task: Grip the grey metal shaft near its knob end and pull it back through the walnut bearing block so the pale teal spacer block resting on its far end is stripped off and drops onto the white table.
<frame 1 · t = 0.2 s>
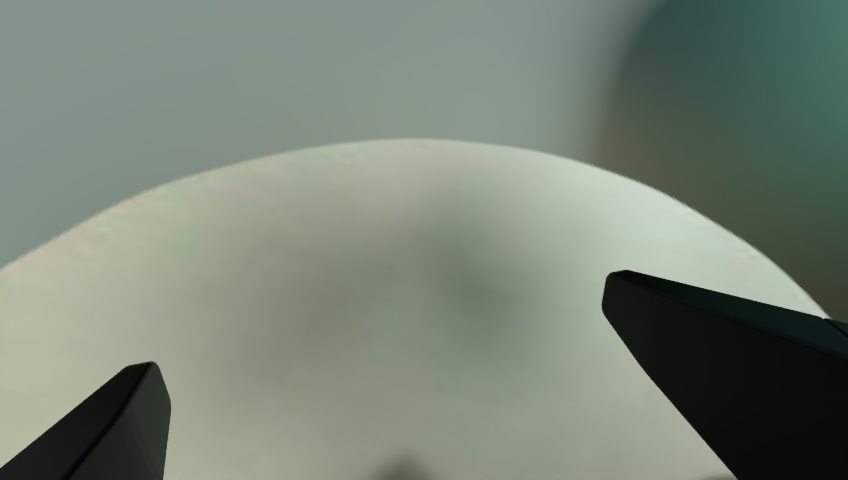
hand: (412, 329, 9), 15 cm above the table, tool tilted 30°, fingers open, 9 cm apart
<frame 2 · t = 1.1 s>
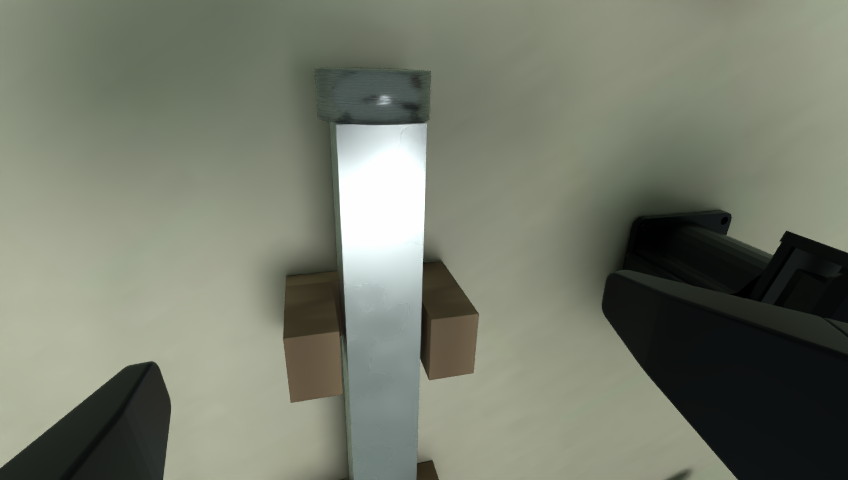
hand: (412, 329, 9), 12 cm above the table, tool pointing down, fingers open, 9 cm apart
bearing b: (368, 295, 22), on the table
shaft: (379, 431, 22), point 3 cm above the table, slide at 0.0 cm, touching spacer
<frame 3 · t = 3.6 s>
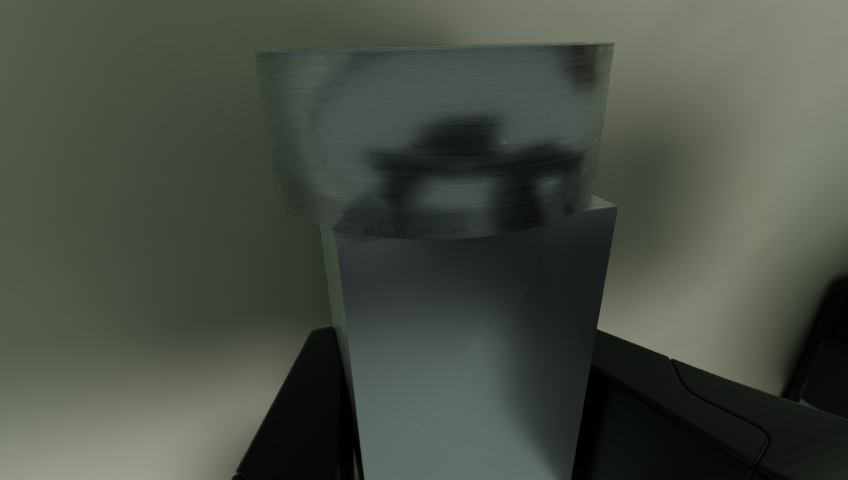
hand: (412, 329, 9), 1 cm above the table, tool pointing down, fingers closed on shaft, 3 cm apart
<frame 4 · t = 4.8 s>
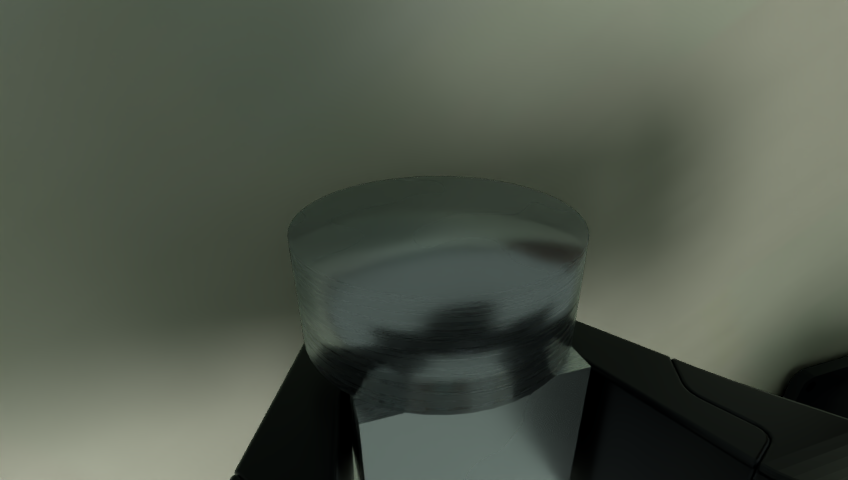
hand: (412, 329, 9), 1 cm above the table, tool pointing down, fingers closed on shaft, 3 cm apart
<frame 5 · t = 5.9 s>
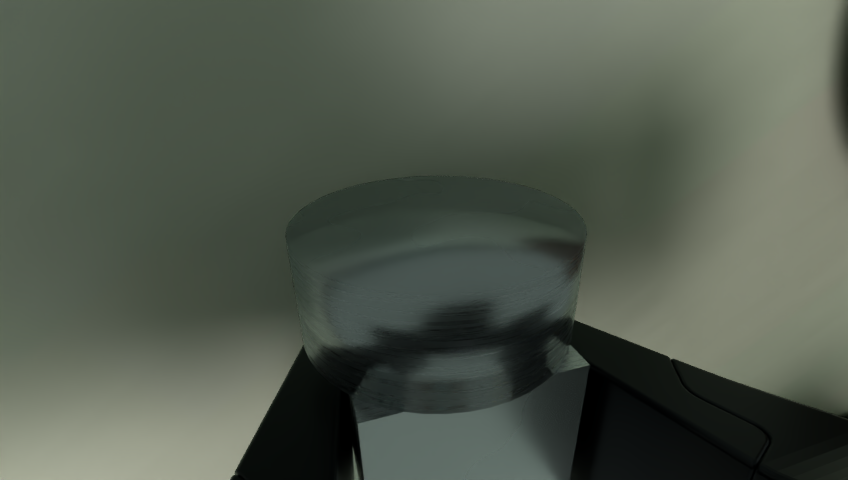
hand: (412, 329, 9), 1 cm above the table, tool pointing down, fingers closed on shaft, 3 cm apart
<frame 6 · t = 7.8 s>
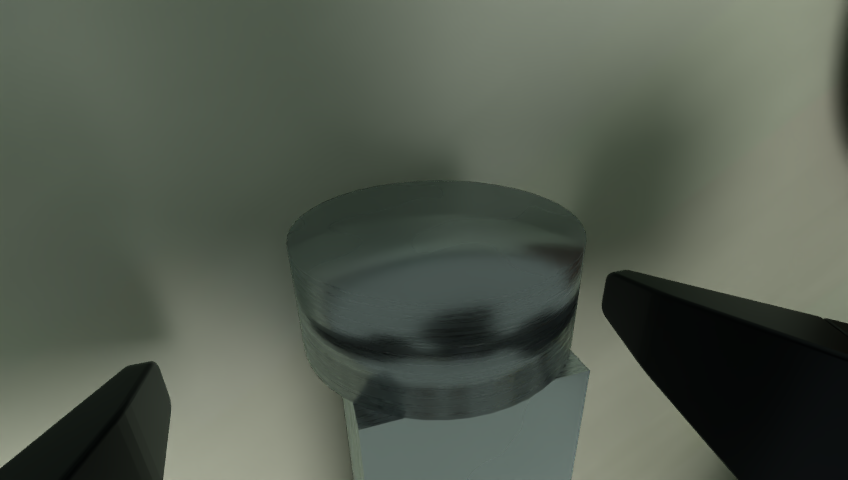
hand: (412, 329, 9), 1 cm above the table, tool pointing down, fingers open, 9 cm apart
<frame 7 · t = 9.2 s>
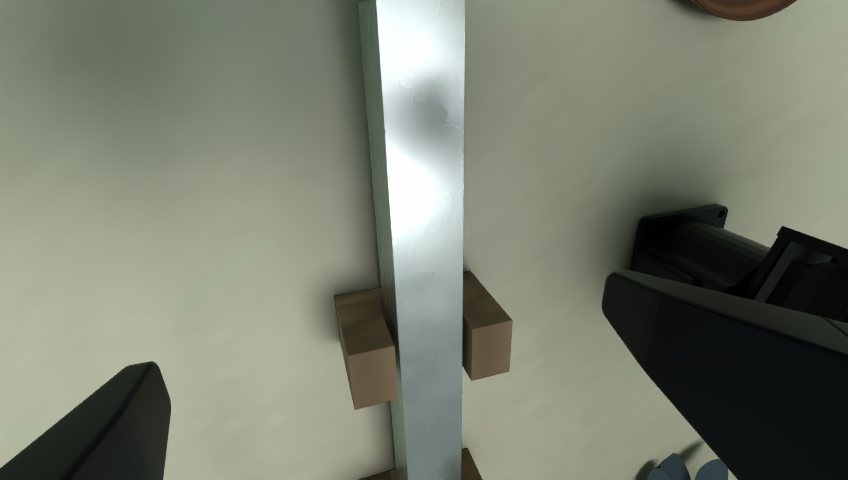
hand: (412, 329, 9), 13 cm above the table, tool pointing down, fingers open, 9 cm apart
bearing b: (406, 306, 24), on the table
bearing a: (416, 478, 30), on the table
shaft: (421, 343, 22), point 3 cm above the table, slide at 5.7 cm
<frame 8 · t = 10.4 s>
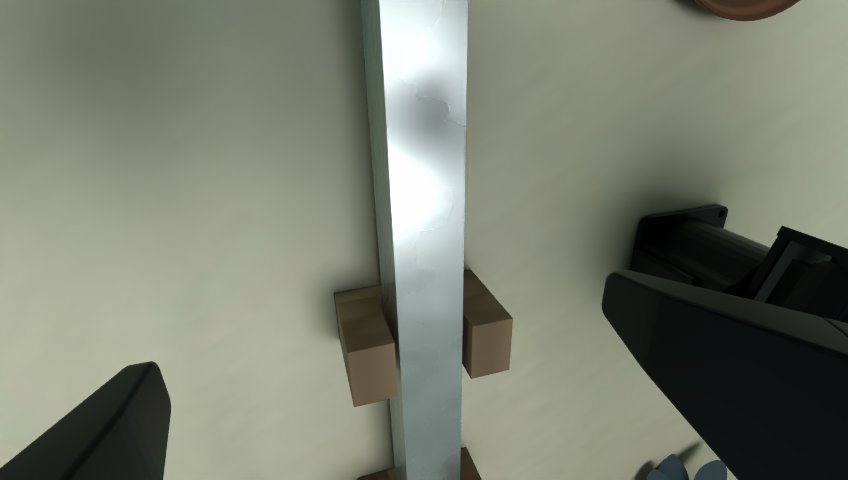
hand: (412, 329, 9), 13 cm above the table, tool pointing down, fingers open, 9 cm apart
bearing b: (406, 304, 24), on the table
bearing a: (414, 477, 30), on the table
shaft: (421, 341, 22), point 3 cm above the table, slide at 5.7 cm
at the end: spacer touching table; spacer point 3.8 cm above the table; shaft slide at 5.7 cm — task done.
